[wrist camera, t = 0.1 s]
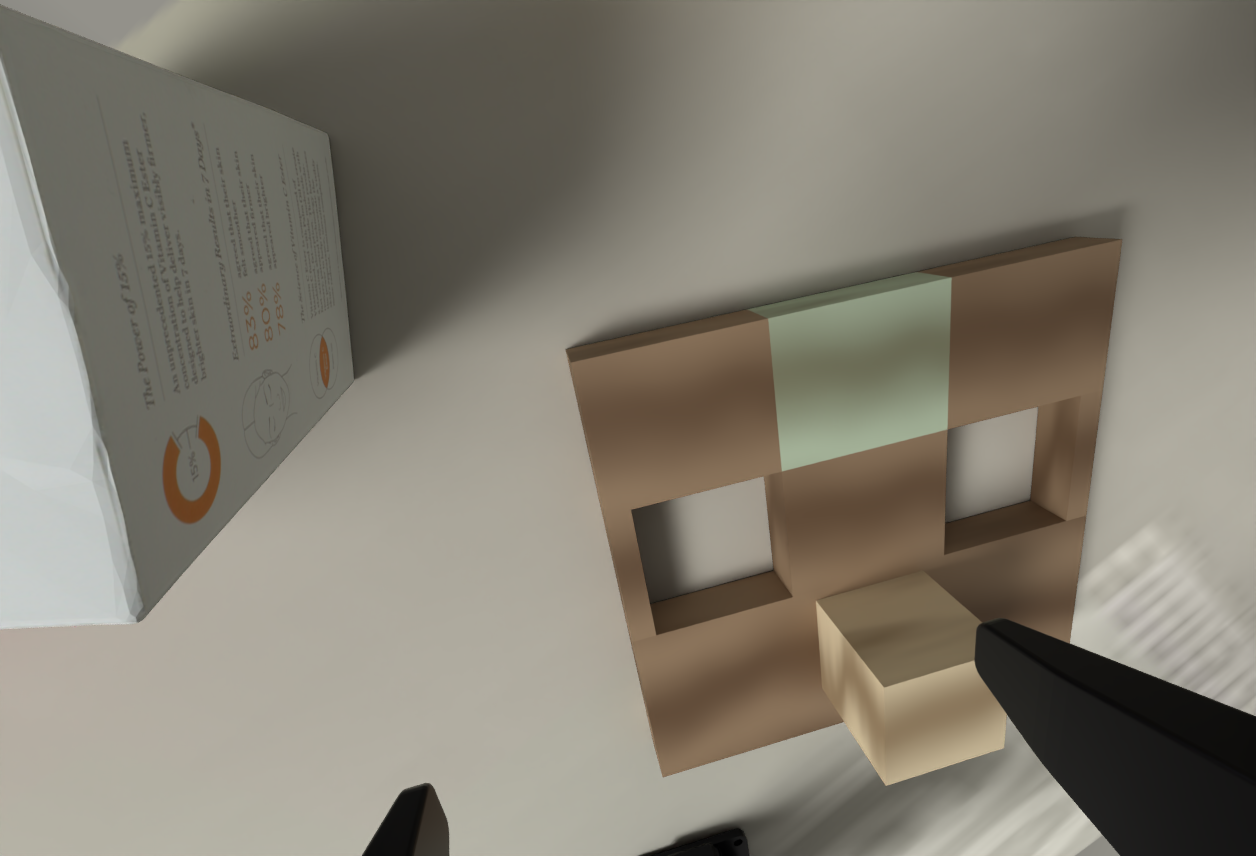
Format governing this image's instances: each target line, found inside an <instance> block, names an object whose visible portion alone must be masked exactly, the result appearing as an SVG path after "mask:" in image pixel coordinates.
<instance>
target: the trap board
mask: <svg viewBox="0 0 1256 856" xmlns="http://www.w3.org/2000/svg"><path fill="white" fill-rule="evenodd" d="M1121 246H1122V239H1106V238H1087V237H1072V238H1068V239H1063V240H1059V241H1054V242H1050V243H1045V244H1041V245H1036V246H1032V247H1027V248H1023V249H1018V250H1014V251H1009V252H1005V253H1000V254H995V255H991V256H986V257H982V258H977V259H973V260H968V261H964V262H959V263H955V264H950V265H946V266H941V267H937V268H932V269H928V270H923V271H919V272H914V273H910V274H905V275H900V276H896V277H891V278H887V279H882V280H878V281H873V282H869V283H864V284H860V285H855V286H851V287H846V288H842V289H837V290H833V291H828V292H824V293H819V294H814V295H810V296H805V297H801V298H796V299H792V300H787V301H783V302H778V303H774V304H769V305H765V306H760V307H756V308H751V309H747V310H742V311H738V312H733V313H728V314H724V315H719V316H715V317H710V318H706V319H701V320H697V321H692V322H688V323H683V324H679V325H674V326H670V327H665V328H661V329H656V330H652V331H647V332H643V333H638V334H633V335H629V336H624V337H620V338H615V339H611V340H606V341H602V342H597V343H593V344H588V345H584V346H579V347H575V348H570V349H566V354H567V358H568V363H569V367H570V372H571V376H572V381H573V385H574V390H575V394H576V399H577V403H578V407H579V412H580V416H581V421H582V425H583V430H584V434H585V439H586V443H587V448H588V452H589V457H590V461H591V466H592V470H593V475H594V479H595V484H596V488H597V493H598V497H599V501H600V506H601V510H602V515H603V519H604V524H605V528H606V533H607V537H608V542H609V546H610V551H611V555H612V560H613V564H614V569H615V573H616V578H617V582H618V587H619V591H620V595H621V600H622V604H623V609H624V613H625V618H626V622H627V627H628V631H629V636H630V640H631V645H632V649H633V654H634V658H635V663H636V667H637V672H638V676H639V681H640V685H641V690H642V694H643V698H644V703H645V707H646V712H647V716H648V721H649V725H650V730H651V734H652V739H653V743H654V747H655V750H656V754H657V758H658V761H659V765H660V769H661V772H662V776H663V777H666V776H669V775H672V774H675V773H679V772H682V771H685V770H689V769H692V768H695V767H698V766H702V765H705V764H708V763H711V762H715V761H718V760H721V759H724V758H728V757H731V756H734V755H737V754H741V753H744V752H747V751H751V750H754V749H757V748H760V747H764V746H767V745H770V744H773V743H777V742H780V741H783V740H786V739H790V738H793V737H796V736H800V735H803V734H806V733H809V732H813V731H816V730H819V729H822V728H826V727H829V726H832V725H835V724H839V723H842V722H844V721H843V719H842V718H841V716H840V715H839V713H838V712H837V710H836V709H835V707H834V706H833V704H832V702H831V701H830V699H829V698H828V696H827V695H826V693H825V692H824V690H823V689H822V678H821V665H820V651H819V637H818V623H817V609H816V600H820V599H823V598H827V597H830V596H834V595H838V594H841V593H845V592H848V591H852V590H855V589H859V588H862V587H866V586H870V585H873V584H877V583H880V582H884V581H887V580H891V579H894V578H898V577H902V576H905V575H909V574H912V573H916V572H919V571H924V572H925V573H926V574H927V575H929V576H930V577H931V578H932V579H933V580H934V581H935V582H937V583H938V584H939V585H940V586H941V587H942V588H943V589H945V590H946V591H947V592H948V593H949V594H950V595H951V596H953V597H954V598H955V599H956V600H957V601H958V602H959V603H961V604H962V605H963V606H964V607H965V608H966V609H967V610H969V611H970V612H971V613H972V614H973V615H974V616H975V617H977V618H978V619H979V620H980V621H981V622H982V623H983V622H986V621H990V620H993V619H997V618H1005V619H1008V620H1011V621H1014V622H1016V623H1019V624H1021V625H1024V626H1026V627H1029V628H1032V629H1034V630H1037V631H1039V632H1042V633H1044V634H1047V635H1049V636H1052V637H1055V638H1057V639H1060V640H1062V641H1065V642H1067V643H1070V637H1071V629H1072V621H1073V614H1074V606H1075V598H1076V591H1077V583H1078V575H1079V568H1080V560H1081V552H1082V545H1083V537H1084V529H1085V522H1086V514H1087V506H1088V499H1089V491H1090V483H1091V476H1092V468H1093V460H1094V453H1095V445H1096V437H1097V430H1098V422H1099V414H1100V407H1101V399H1102V391H1103V384H1104V376H1105V368H1106V361H1107V353H1108V346H1109V338H1110V330H1111V323H1112V315H1113V307H1114V300H1115V292H1116V284H1117V277H1118V269H1119V261H1120V254H1121ZM1038 406H1039V407H1038ZM1034 407H1038V418H1037V430H1036V441H1035V452H1034V464H1033V475H1032V486H1031V497H1030V501H1027V502H1023V503H1020V504H1016V505H1012V506H1009V507H1005V508H1001V509H998V510H994V511H990V512H987V513H983V514H979V515H976V516H972V517H968V518H965V519H961V520H957V521H954V522H950V523H946V524H945V501H946V464H947V429H951V428H955V427H959V426H963V425H967V424H971V423H975V422H979V421H983V420H987V419H991V418H995V417H999V416H1003V415H1006V414H1010V413H1014V412H1018V411H1022V410H1026V409H1030V408H1034ZM762 476H764V481H765V491H766V501H767V510H768V520H769V530H770V540H771V550H772V559H773V569H774V571H770V572H767V573H763V574H759V575H756V576H752V577H748V578H745V579H741V580H737V581H734V582H730V583H726V584H723V585H719V586H715V587H712V588H708V589H704V590H701V591H697V592H693V593H690V594H686V595H682V596H679V597H675V598H671V599H668V600H664V601H660V602H657V603H653V604H650V602H649V597H648V592H647V587H646V582H645V577H644V572H643V567H642V562H641V557H640V552H639V547H638V542H637V537H636V532H635V527H634V522H633V517H632V513H631V510H632V509H636V508H640V507H644V506H648V505H652V504H656V503H660V502H664V501H668V500H672V499H676V498H680V497H684V496H687V495H691V494H695V493H699V492H703V491H707V490H711V489H715V488H719V487H723V486H727V485H731V484H735V483H739V482H743V481H747V480H750V479H754V478H758V477H762Z"/></svg>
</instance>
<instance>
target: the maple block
mask: <svg viewBox="0 0 1256 856" xmlns="http://www.w3.org/2000/svg"><path fill="white" fill-rule="evenodd" d="M816 609H817V623H818V637H819V651H820V665H821V678H822V689H823V690H824V692H825V693H826V695H827V696H828V698H829V699H830V701H831V702H832V704H833V706H834V707H835V709H836V710H837V712H838V713H839V715H840V716H841V718H842V719H843V721H844V722H845V724H846V725H847V727H848V729H849V730H850V732H851V733H852V735H853V736H854V738H855V739H856V741H857V742H858V744H859V745H860V747H861V748H862V750H863V752H864V753H865V755H866V756H867V758H868V759H869V761H870V762H871V764H872V765H873V767H874V768H875V770H876V771H877V773H878V775H879V776H880V778H881V779H882V781H883V782H884V784H885V785H886V786H888V785H891V784H894V783H897V782H900V781H903V780H906V779H909V778H912V777H916V776H919V775H922V774H925V773H928V772H931V771H934V770H937V769H940V768H944V767H947V766H950V765H953V764H956V763H959V762H962V761H965V760H968V759H972V758H975V757H978V756H981V755H984V754H987V753H990V752H993V751H996V750H1000V749H1003V748H1004V742H1005V730H1006V718H1007V714H1006V712H1005V711H1004V710H1003V708H1002V707H1001V705H1000V704H999V703H998V701H997V700H996V698H995V697H994V696H993V694H992V693H991V691H990V690H989V688H988V687H987V686H986V684H985V683H984V681H983V680H982V679H981V677H980V676H979V674H978V672H977V669H976V667H975V662H974V657H975V641H976V629H977V627H978V625H979V624H980V623H982V622H981V621H980V620H979V619H978V618H977V617H975V616H974V615H973V614H972V613H971V612H970V611H969V610H967V609H966V608H965V607H964V606H963V605H962V604H961V603H959V602H958V601H957V600H956V599H955V598H954V597H953V596H951V595H950V594H949V593H948V592H947V591H946V590H945V589H943V588H942V587H941V586H940V585H939V584H938V583H937V582H935V581H934V580H933V579H932V578H931V577H930V576H929V575H927V574H926V573H925V572H924V571H919V572H916V573H912V574H909V575H905V576H902V577H898V578H894V579H891V580H887V581H884V582H880V583H877V584H873V585H870V586H866V587H862V588H859V589H855V590H852V591H848V592H845V593H841V594H838V595H834V596H830V597H827V598H823V599H820V600H816Z"/></svg>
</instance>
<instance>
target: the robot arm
mask: <svg viewBox="0 0 1256 856" xmlns="http://www.w3.org/2000/svg"><path fill="white" fill-rule="evenodd" d="M974 662H975V667H976V669H977V672H978V674H979V676H980V677H981V679H982V680H983V681H984V683H985V684H986V686H987V687H988V688H989V690H990V691H991V693H992V694H993V696H994V697H995V698H996V700H997V701H998V703H999V704H1000V705H1001V707H1002V708H1003V710H1004V711H1005V712H1006V714H1007V715H1008V717H1009V718H1010V719H1011V721H1012V722H1013V724H1014V725H1015V726H1016V728H1017V729H1018V731H1019V732H1020V733H1021V735H1022V736H1023V738H1024V739H1025V741H1026V742H1027V743H1028V745H1029V746H1030V748H1031V749H1032V750H1033V752H1034V753H1035V754H1036V756H1037V757H1038V758H1039V760H1040V761H1041V762H1042V764H1043V765H1044V766H1045V767H1046V768H1047V770H1048V771H1049V772H1050V773H1051V775H1052V776H1053V777H1054V778H1055V779H1056V781H1057V782H1058V783H1059V784H1060V785H1061V786H1062V788H1063V789H1064V790H1065V791H1066V792H1067V794H1068V795H1069V796H1070V797H1071V798H1072V799H1073V801H1074V802H1075V803H1076V804H1077V805H1078V806H1079V808H1080V809H1081V810H1082V811H1083V812H1084V814H1085V815H1086V816H1087V817H1088V818H1089V819H1090V821H1091V822H1092V823H1093V824H1094V825H1095V826H1096V828H1097V829H1098V830H1099V831H1100V832H1101V834H1102V835H1103V836H1104V837H1105V838H1106V839H1107V841H1108V842H1109V843H1110V844H1111V845H1112V846H1113V848H1114V849H1115V850H1116V851H1117V852H1118V854H1119V855H1120V856H1256V716H1253V715H1251V714H1248V713H1246V712H1243V711H1241V710H1238V709H1236V708H1233V707H1231V706H1228V705H1225V704H1223V703H1220V702H1218V701H1215V700H1213V699H1210V698H1208V697H1205V696H1202V695H1200V694H1197V693H1195V692H1192V691H1190V690H1187V689H1185V688H1182V687H1180V686H1177V685H1174V684H1172V683H1169V682H1167V681H1164V680H1162V679H1159V678H1157V677H1154V676H1151V675H1149V674H1146V673H1144V672H1141V671H1139V670H1136V669H1134V668H1131V667H1129V666H1126V665H1123V664H1121V663H1118V662H1116V661H1113V660H1111V659H1108V658H1106V657H1103V656H1100V655H1098V654H1095V653H1093V652H1090V651H1088V650H1085V649H1083V648H1080V647H1077V646H1075V645H1072V644H1070V643H1067V642H1065V641H1062V640H1060V639H1057V638H1055V637H1052V636H1049V635H1047V634H1044V633H1042V632H1039V631H1037V630H1034V629H1032V628H1029V627H1026V626H1024V625H1021V624H1019V623H1016V622H1014V621H1011V620H1008V619H1005V618H997V619H993V620H990V621H986V622H983V623H980V624H979V625H978V627H977V629H976V641H975V657H974ZM362 856H449V828H448V822H447V818H446V816H445V813H444V811H443V809H442V806H441V804H440V801H439V799H438V797H437V794H436V792H435V790H434V788H433V786H432V785H431V784H430V783H424V784H421V785H417V786H414V787H410V788H407V789H405V790H403V791H402V792H401V793H400V794H399V796H398V797H397V799H396V800H395V802H394V804H393V805H392V807H391V809H390V810H389V812H388V813H387V815H386V817H385V818H384V820H383V822H382V823H381V825H380V827H379V828H378V830H377V832H376V833H375V835H374V837H373V838H372V840H371V841H370V843H369V845H368V846H367V848H366V850H365V851H364V853H363V855H362ZM653 856H749V850H748V844H747V839H746V836H745V834H744V831H743V830H741V829H734V830H731V831H728V832H725V833H722V834H719V835H716V836H713V837H709V838H706V839H703V840H700V841H697V842H694V843H691V844H688V845H684V846H681V847H678V848H675V849H672V850H669V851H666V852H663V853H659V854H656V855H653Z"/></svg>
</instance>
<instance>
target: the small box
mask: <svg viewBox="0 0 1256 856" xmlns="http://www.w3.org/2000/svg"><path fill="white" fill-rule="evenodd" d="M353 382H354V373H353V363H352V353H351V342H350V332H349V321H348V311H347V300H346V290H345V281H344V271H343V262H342V253H341V243H340V233H339V223H338V214H337V204H336V194H335V186H334V177H333V169H332V160H331V151H330V143H329V137H328V134H327V133H325V132H323V131H321V130H319V129H316V128H314V127H311V126H309V125H306V124H304V123H301V122H299V121H296V120H294V119H292V118H290V117H287V116H285V115H283V114H280V113H278V112H276V111H273V110H271V109H268V108H266V107H263V106H261V105H258V104H255V103H253V102H250V101H247V100H245V99H242V98H239V97H237V96H234V95H231V94H229V93H226V92H223V91H220V90H218V89H215V88H212V87H210V86H207V85H205V84H202V83H199V82H197V81H194V80H191V79H189V78H186V77H184V76H181V75H178V74H176V73H173V72H171V71H168V70H166V69H163V68H161V67H158V66H156V65H153V64H151V63H148V62H146V61H143V60H141V59H138V58H135V57H133V56H130V55H128V54H125V53H123V52H120V51H118V50H115V49H113V48H110V47H108V46H105V45H102V44H100V43H97V42H95V41H92V40H90V39H87V38H85V37H82V36H79V35H77V34H74V33H72V32H69V31H67V30H64V29H62V28H59V27H57V26H54V25H51V24H49V23H46V22H43V21H41V20H38V19H35V18H33V17H30V16H28V15H26V14H23V13H21V12H18V11H16V10H13V9H11V8H8V7H5V6H3V5H1V4H0V629H19V628H41V627H63V626H85V625H114V624H135V623H138V622H140V621H142V620H143V619H144V618H145V617H146V616H147V615H148V613H149V612H150V611H151V610H152V609H153V608H154V606H155V605H156V604H157V603H158V602H159V601H160V599H161V598H162V597H163V596H164V595H165V594H166V593H167V591H168V590H169V589H170V588H171V587H172V586H173V584H174V583H175V582H176V581H177V580H178V579H179V577H180V576H181V575H182V574H183V573H184V572H185V571H186V569H187V568H188V567H189V566H190V565H191V564H192V563H193V561H194V560H195V559H196V558H197V557H198V556H199V555H200V554H201V552H202V551H203V550H204V549H205V548H206V547H207V546H208V545H209V543H210V542H211V541H212V540H213V539H214V538H215V537H216V536H217V535H218V533H219V532H220V531H221V530H222V529H223V528H224V527H225V526H226V524H227V523H228V522H229V521H230V520H231V519H232V518H233V517H234V515H235V514H236V513H237V512H238V511H239V510H240V509H241V508H242V506H243V505H244V504H245V503H246V502H247V501H248V500H249V499H250V498H251V497H252V495H253V494H254V493H255V492H256V491H257V490H258V489H259V488H260V487H261V485H262V484H263V483H264V482H265V481H266V480H267V479H268V478H269V476H270V475H271V474H272V473H273V472H274V471H275V470H276V469H277V467H278V466H279V465H280V464H281V463H282V462H283V461H284V459H285V458H286V457H287V456H288V455H289V454H290V453H291V452H292V450H293V449H294V448H295V447H296V446H297V445H298V444H299V443H300V442H301V440H302V439H303V438H304V437H305V436H306V435H307V434H308V433H309V431H310V430H311V429H312V428H313V427H314V426H315V425H316V424H317V422H318V421H319V420H320V419H321V418H322V417H323V416H324V415H325V413H326V412H327V411H328V410H329V409H330V408H331V407H332V406H333V404H334V403H335V402H336V401H337V400H338V399H339V398H340V396H341V395H342V394H343V393H344V392H345V391H346V390H347V389H348V388H349V387H350V385H351V384H352V383H353Z"/></svg>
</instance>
